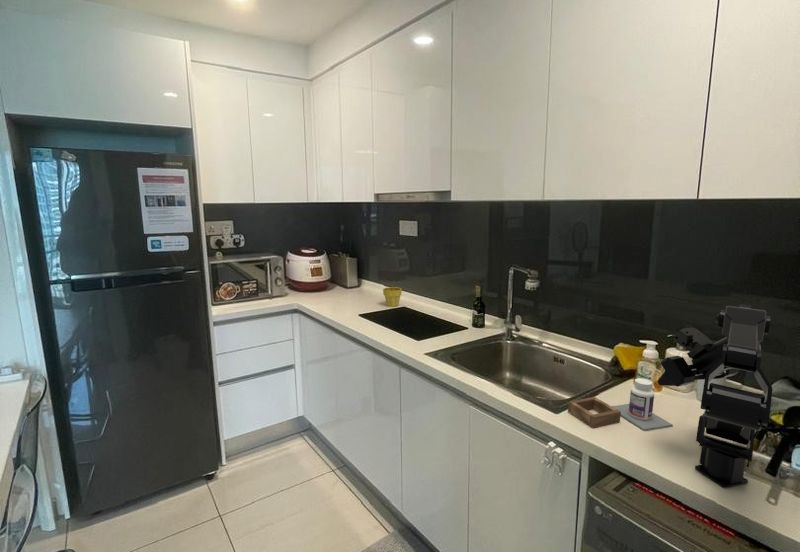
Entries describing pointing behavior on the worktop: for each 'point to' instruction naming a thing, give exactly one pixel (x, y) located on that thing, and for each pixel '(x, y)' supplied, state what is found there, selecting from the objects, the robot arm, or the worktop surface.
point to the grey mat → (644, 425)
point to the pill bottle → (641, 399)
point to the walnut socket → (581, 408)
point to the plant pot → (392, 296)
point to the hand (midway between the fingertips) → (672, 380)
